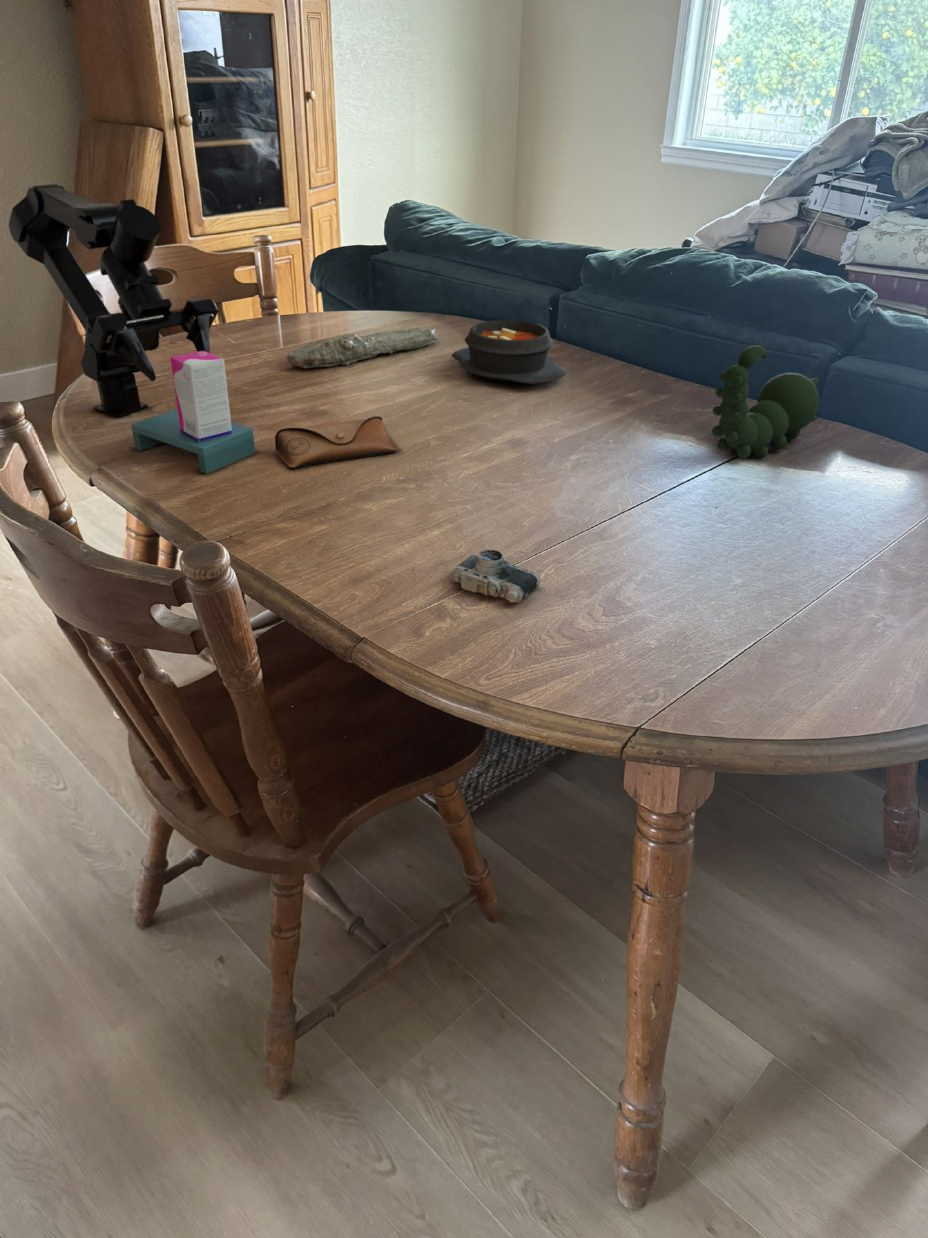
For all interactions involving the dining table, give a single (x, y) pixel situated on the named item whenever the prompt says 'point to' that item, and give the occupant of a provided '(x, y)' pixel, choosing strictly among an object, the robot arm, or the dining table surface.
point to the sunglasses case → (333, 442)
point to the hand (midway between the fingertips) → (182, 373)
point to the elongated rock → (359, 347)
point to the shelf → (209, 452)
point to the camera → (495, 576)
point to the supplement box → (201, 395)
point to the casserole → (509, 352)
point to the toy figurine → (762, 408)
